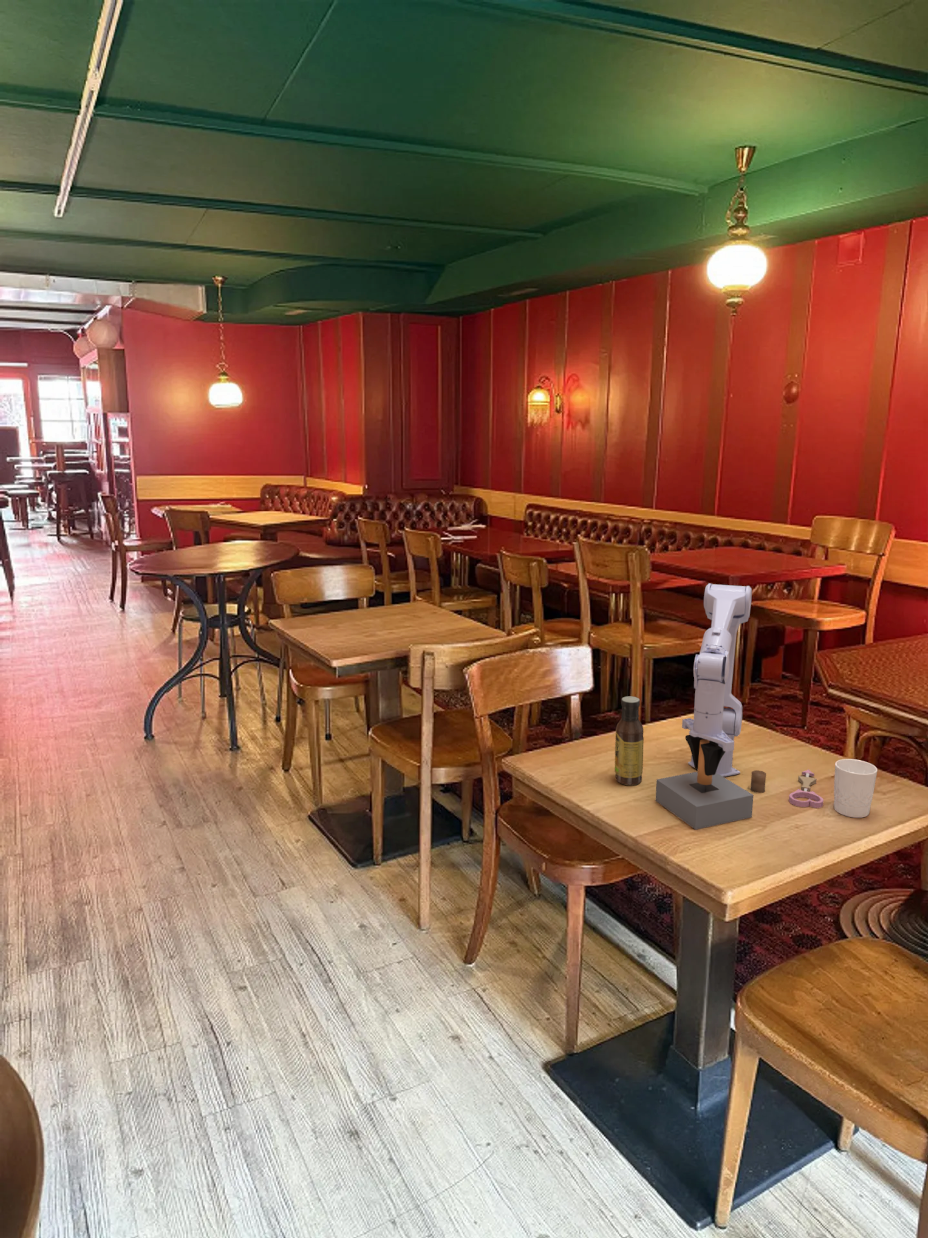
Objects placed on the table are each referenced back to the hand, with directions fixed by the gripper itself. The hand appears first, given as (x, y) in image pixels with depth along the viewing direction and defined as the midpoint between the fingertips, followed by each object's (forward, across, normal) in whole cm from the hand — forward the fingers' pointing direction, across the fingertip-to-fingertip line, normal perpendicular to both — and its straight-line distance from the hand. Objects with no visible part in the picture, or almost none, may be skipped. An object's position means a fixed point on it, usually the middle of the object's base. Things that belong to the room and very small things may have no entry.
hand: (704, 771), depth 170 cm
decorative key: (+8, +2, +30) cm, 31 cm away
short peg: (+9, -3, +17) cm, 19 cm away
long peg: (+2, 0, 0) cm, 2 cm away
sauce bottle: (+9, -18, -7) cm, 21 cm away
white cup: (+9, +12, +28) cm, 32 cm away
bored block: (+9, 0, 0) cm, 9 cm away
